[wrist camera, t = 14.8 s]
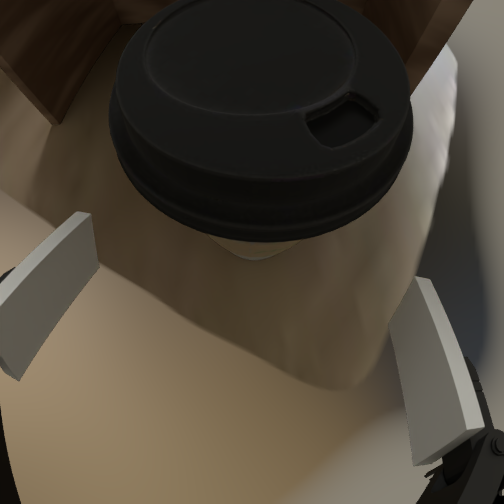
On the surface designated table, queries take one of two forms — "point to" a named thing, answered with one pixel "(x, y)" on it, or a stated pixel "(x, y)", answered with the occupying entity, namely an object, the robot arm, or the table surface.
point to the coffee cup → (261, 118)
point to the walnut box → (146, 6)
